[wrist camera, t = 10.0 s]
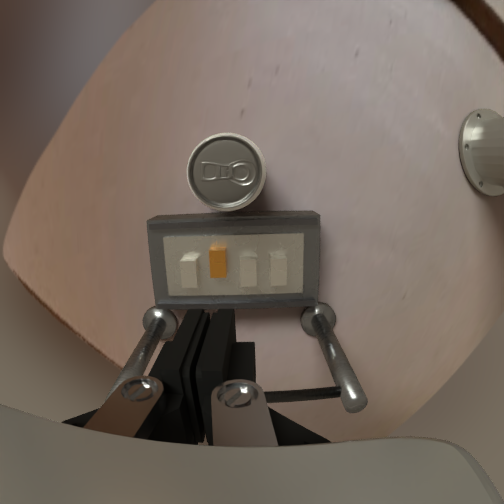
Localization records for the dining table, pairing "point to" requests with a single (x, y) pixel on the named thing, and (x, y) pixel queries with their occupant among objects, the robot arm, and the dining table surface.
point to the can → (226, 172)
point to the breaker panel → (235, 259)
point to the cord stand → (347, 388)
